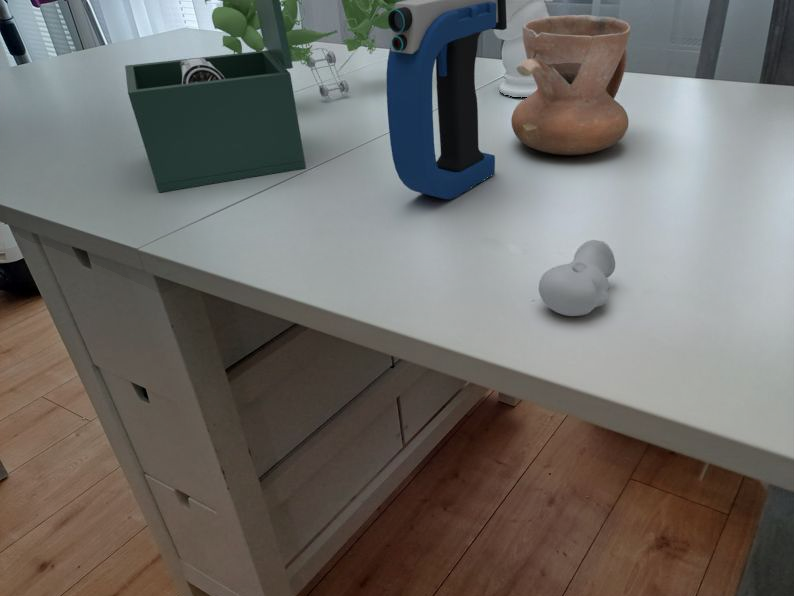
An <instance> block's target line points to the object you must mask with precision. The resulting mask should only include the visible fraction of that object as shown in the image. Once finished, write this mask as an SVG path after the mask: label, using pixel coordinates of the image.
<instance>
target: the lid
mask: <svg viewBox="0 0 794 596" xmlns="http://www.w3.org/2000/svg"><path fill="white" fill-rule="evenodd" d="M254 1H255V5H256V10H257V15H258V19H259V24H260V28H261V29H260V34H261V36H262V38H263V42H264V46H265V47H264V49H265V48H266V49H265V50H268V51H269V52H270V53H271V54H272V55H273V56H274V57H275V58H276V59H277V60H278V61H279V62H280V63H281V64H282V65H283V66H284V67H285V69H286V70H290V69H294V64H293V62H292V60H291V55H290V50H289V45H288V40H287V35H286V30H285V24H284V19H283V14H282V10H283V8H282V6H281V4H282V3H281V4H280V2H281V0H254Z"/></svg>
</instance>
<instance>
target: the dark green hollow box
mask: <svg viewBox="0 0 794 596" xmlns="http://www.w3.org/2000/svg"><path fill="white" fill-rule="evenodd" d="M197 58H198V57H193V58H192V57H191V58H181V59H173V60H165V61H164V60H163V61H154V62H146V63H137V64H126V65H124V70H125V77H126V87H127V88H126V89H127V95H128V98H129V101H130V104H131V107H132V111H133V114H134V118H135V120H136V124H137V128H138V130H139V132H140V137H141V140H142V143H143V146H144V150H145V153H146V156H147V159H148V162H149V166H150V169H151V172H152V176H153V178H154V182H155V186H156V188H157V192H158V193H164V192H171V191H176V190H182V189H183V190H184V189H188V188H194V187H200V186H201V187H202V186H207V185H211V184H219V183H225V182H230V181H237V180H242V179H243V180H244V179H249V178H255V177H260V176H261V177H262V176H266V175H272V174H279V173H284V172H290V171H295V170H303V169H306V168H307V166H306V161H305V153H304V147H303V143H302V142H303V141H302V135H301V129H300V123H299V118H298V112H297V106H296V101H295V94H294V86H293V81H292V76H291V72H290V71H289V70H288V69H286V68H285V67H284V66H283V65H282V64H281V63H280V62H279V61H278V60H277V59H276V58H275V57H274V56H273V55H272V54H271V53H270V52H269V51H268V50H267V49H265V50H262V51H256V50H255V51H248V52H242V53H235V54H234V53H229V54H221V55H211V56H210V55H209V56H202V57H200V58H203V59H205V60H206V62H210V63H211V64H212V65H213V67H214V68H215V69H217V70H218V71H219V72H220V73H221V74H222V75H223V76H224V78H225V79H222V80H213V81H205V82H196V83H188V84H182V71H181V61H183V60H190V59H197Z"/></svg>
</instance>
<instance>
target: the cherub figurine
mask: <svg viewBox="0 0 794 596" xmlns="http://www.w3.org/2000/svg"><path fill="white" fill-rule="evenodd" d="M553 1H554V0H506V20H507V28H506V29H505V30H496V29H493V33H494V36H495V37H496V38H497V39H499V40H504V41H503V44H502V48H501V62H502V65H503V68H504V70H505V73H504V74H503V79H504V81H505V82H502V83H501V84H500V85H499V86H498V91H499V90H500V92H501V93H500V92H499V93H500V94H502V93H503V94H506V95H509V96H508V97H510V96H513V97H521V98H522V97H529V96H530V95H531V94H532V93H534V92H535V91H536V90H537V84H536V82H535V80H534V77H533V74H531V75H529V76H522V75H520V73H518V71H517V67H518V65H519V64H521V63H522V62H523V61H525V60H527V56H526V51H525V47H524V41H523V25H524V24H525V23H526V22H529V21H531V20H534V19H538V18H544V17H545V18H546V17H550V16H551V15H549V11H548V9H547V5H546V3H545V2H547V3H550V2H553ZM503 94H502V95H503Z"/></svg>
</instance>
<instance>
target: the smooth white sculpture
mask: <svg viewBox="0 0 794 596" xmlns="http://www.w3.org/2000/svg"><path fill="white" fill-rule="evenodd" d="M615 269H616V259H615V256H614V252H613V250H612V249H611V247H610V245H608V244H607V243H606V242H605V241H603V240H598V239H590V240H587V241H586V242H584V243H583V244H582V245H580V246H579V247H578V249H577V250H576V251H575V253H574V257H573V260H572V261H570V262H569V263H564V264H560V265H556V266H554V267H552V268H550V269H548V270H546V271H545V272H544V273H543V275H541V277H540V280H539V283H538V292H539V296H540V298H541V300H542V301H543V303H544V304H545V306H546V307H548V308H549V309H550V310H552V312H555V313H557V314H559V315H563V316H568V317H580V316H581V317H582V316H585V315H588V314H590V313H591V312H592V311H593V310H594V309H595V308H598V307H600V306H605V305H606V304H607V303H608V300H609V296H608V290H609V289H610V281H609V279H608V278H609V277H610V276H612V275H613V273H614V272H615Z"/></svg>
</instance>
